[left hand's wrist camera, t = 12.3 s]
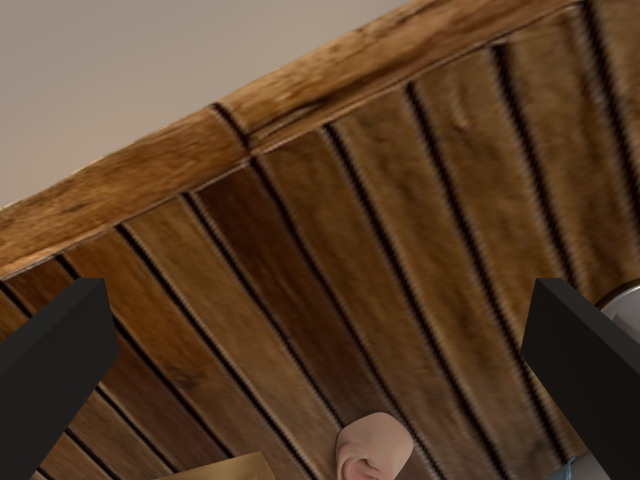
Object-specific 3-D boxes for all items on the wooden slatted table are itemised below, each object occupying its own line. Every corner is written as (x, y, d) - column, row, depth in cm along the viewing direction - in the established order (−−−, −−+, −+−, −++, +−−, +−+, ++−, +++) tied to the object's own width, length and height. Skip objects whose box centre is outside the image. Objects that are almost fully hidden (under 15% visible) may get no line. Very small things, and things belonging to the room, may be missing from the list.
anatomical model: (369, 425, 51) (441, 462, 54) (365, 401, 55) (433, 437, 57) (311, 489, 55) (381, 520, 58) (311, 463, 59) (377, 493, 61)
